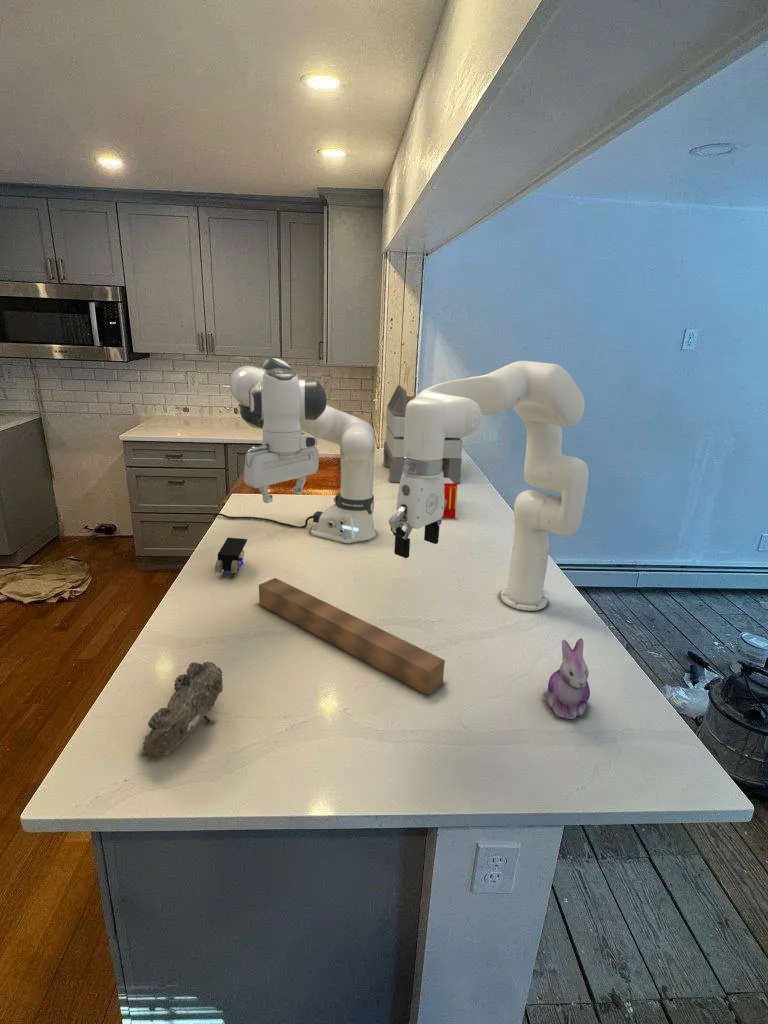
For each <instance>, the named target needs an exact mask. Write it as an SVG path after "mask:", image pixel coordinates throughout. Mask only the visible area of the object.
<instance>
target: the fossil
mask: <svg viewBox="0 0 768 1024" xmlns="http://www.w3.org/2000/svg"><path fill="white" fill-rule="evenodd" d="M173 685H174V686H173V687H174V688H173V689H174V692H173V694H172V696H171V697H170V699H169V701H168V702H167V708H166V707H161V708H159V709H158V710H157V711H156V712H154V713H153V715H152V716H151V717H150V718H149V720H148V722H147V726H148V727H149V728H150V729H151V730H150V731H149V733H148V734H147V735H145V737H144V742H142V749H143V752H144V754H146V755H149V756H150V757H156V756H161V755H162V756H163V755H166V756H167V755H169V754H170V753H171V752H172V751H173V750H174V749H175V748H176V747H177V746H179V745H180V744H181V743H182V741H183V740H184V739H186V738H187V736H189V735H190V734H191V733H192V732H194V730H195V728H196V727H197V725H198V724H199V723H200V722H201V721H202V720H205V721H206V722H207V723H211V722H212V720H211V719H210V718H209V717H208V716H207V715H206V714H207V712H209V711H211V710H212V708H213V707H214V706H215V704H216V702H217V699H218V698H219V695H220V694H221V693H222V692H223V690H224V688H223V687H224V686H223V671H222V669H221V667H219V666H217V664H216V663H214V662H213V661H204V662H202V663H200V662H195V661H193V662H190V664H189V665H188V667H187V668H186V673H183V674H179V675H178V676H177V677H176V678H175V679H174V684H173Z"/></svg>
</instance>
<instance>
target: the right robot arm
mask: <svg viewBox="0 0 768 1024" xmlns="http://www.w3.org/2000/svg"><path fill="white" fill-rule="evenodd" d="M585 402H586V401H585V397H584V395H583V392H582V391H581V389H580V388H579V386H578V384H577V383H576V382H575V380H574V378H572V376H571V375H570V373H569V372H568V371H567V370H566V369H565V368H564V367H563V366H561V365H560V364H558V363H551V362H540V361H533V360H532V361H531V360H517V361H514V362H511V363H508V364H507V365H504V366H502V367H500V368H497V369H496V370H493V371H491V372H489V373H486V374H484V375H475V376H470V377H466V378H459V379H453V380H448V381H443V382H440V383H437V384H434V385H432V386H430V387H428V388H425V389H423V390H422V391H420V392H419V393H418V394H416V396H415V398H414V399H413V400H410V401H409V402H408V403H407V406H406V412H405V430H404V449H403V467H402V473H403V474H402V476H401V480H400V482H399V485H398V492H397V499H396V510H395V512H394V513H393V515H391V516H390V517H389V518H388V524H389V526H390V531H391V532H392V535H393V536H394V549H393V550H394V554H395V555H396V556H398V557H402V558H404V559H408V558H410V551H411V550H410V549H411V548H410V547H411V538H409V536H410V534H411V533H412V530H413V529H415V530H418V529H421V528H423V527H424V534H423V540H424V541H425V542H428V543H431V544H433V545H438V544H439V540H440V539H439V538H440V527H441V526H440V525H441V524H442V522H443V520H442V519H443V518H442V516H443V514H444V509H445V506H446V503H447V500H445V499H444V474H443V471H442V464H443V452H444V439H445V438H446V437H463V438H465V437H468V436H470V435H472V434H473V433H475V432H476V431H477V430H478V429H479V427H480V425H481V424H482V423H481V421H482V417H483V416H491V415H498V414H501V413H504V412H505V411H507V410H509V409H510V408H512V409H513V410H514V412H515V414H516V415H517V416H518V417H519V418H520V419H521V420H522V423H523V425H524V426H525V429H526V430H525V431H526V447H525V454H524V455H525V456H524V465H523V466H524V467H523V478H524V481H525V483H526V484H528V485H529V486H531V487H534V488H537V490H536V489H526V490H523V491H521V492H520V493H519V494H517V496H516V498H515V500H514V503H513V516H514V517H513V518H514V519H513V520H514V532H513V533H514V534H513V542H512V550H511V558H510V565H509V572H508V573H509V574H508V581H507V586H506V587H505V588H503V589H502V590H501V592H500V599H501V601H502V602H503V603H504V604H506V605H507V606H509V607H511V608H513V609H516V610H521V611H528V612H532V611H533V612H534V611H539V610H542V609H544V608H545V607H546V606H547V605H548V597H547V596H546V594H544V586H545V579H546V574H547V573H546V572H547V567H548V559H549V555H550V554H549V553H550V547H551V544H550V543H551V542H550V537H549V534H548V533H551V534H555V535H558V536H561V537H567V538H568V537H569V538H570V537H572V536H575V535H576V534H577V533H578V532H579V530H580V528H581V526H582V524H583V523H582V522H583V518H584V512H585V506H586V499H587V494H588V493H587V492H588V485H589V479H590V477H589V475H590V473H589V467H588V465H587V463H586V462H585V461H584V460H583V459H581V458H578V457H575V456H571V455H566V454H563V452H562V444H563V429H562V427H563V428H566V427H567V428H568V427H569V428H570V427H573V426H575V425H577V424H578V423H579V422H580V421H581V420H582V419H583V416H584V413H585V407H586V403H585ZM538 489H541V490H545V491H549V492H545V491H541V490H538ZM550 492H552V493H550ZM553 493H556V494H560V496H559V495H555V494H553ZM403 527H405V529H403Z"/></svg>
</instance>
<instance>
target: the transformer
mask: <svg viewBox="0 0 768 1024" xmlns="http://www.w3.org/2000/svg"><path fill="white" fill-rule="evenodd" d="M407 394H408V393H407V390H406V389H404V388H403V387H402V385H399V384H398V385H397V386H396V388H395V390H394V392H393V394H392V395H391V398H390V400H389V402H388V404H387V405H386V413H385V414H386V415H385V423H386V428H385V438H384V442H383V466H384V467H388V468H389V475H388V476H389V477H388V478H389V480H390V482H391V483H400V480H401V476H402V474H403V473H402V467H403V449H404V430H405V412H406V406H407V403H408V402H409V401H410V400H413V399H414V398H415V397H416V396H415V395H414V396H413V395H412V396H411V395H407ZM463 438H464V437H446V438H445V439H444V452H443V464H442V471H443V475H444V478H449V479H450V480H451V481H452V482H453V483H454V484H459V483H461V472H462V461H463V460H462V453H463V442H464V441H463V440H462V439H463Z"/></svg>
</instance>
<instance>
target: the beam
mask: <svg viewBox="0 0 768 1024" xmlns="http://www.w3.org/2000/svg"><path fill="white" fill-rule="evenodd" d="M258 602H259V603H258V604H259V605H260V606H262V607H264V608H266V609H267V610H269V611H270V612H272V613H274V614H277V615H278V616H280V617H282V618H284V619H285V620H288V621H289V622H291V623H293V624H294V625H297V626H299V627H300V628H302V629H303V630H306V631H308V632H309V633H312V634H313V635H315V636H317V637H319V638H320V639H322V640H324V641H327V642H328V643H330V644H331V645H334V646H336V647H337V648H339V649H341V650H343V651H345V652H347V653H348V654H350V655H352V656H354V657H356V658H358V659H359V660H361V661H363V662H365V663H366V664H368V665H371V666H372V667H374V668H376V669H377V670H380V671H381V672H383V673H386V674H387V675H389V676H391V677H393V678H395V679H396V680H397V681H400V682H402V683H404V684H406V685H408V686H410V687H411V688H413V689H415V690H416V691H417V690H418V691H419V692H420V693H422V694H424V695H426V696H429V695H430V694H431V693H432V692H434V691H435V690H436V689H437V688H439V687H440V686H441V685H442V684H443V683H444V673H445V662H446V660H445V659H443V658H441V657H440V656H437V655H435V654H433V653H432V652H429V651H427V650H425V649H423V648H421V647H419V646H416V645H415V644H413V643H410V642H408V641H406V640H405V639H402V638H400V637H399V636H396V635H394V634H392V633H390V632H388V631H385V630H384V629H382V628H379V627H377V626H375V625H373V624H371V623H369V622H367V621H365V620H364V619H361V618H359V617H357V616H355V615H353V614H351V613H349V612H347V611H344V610H342V609H340V608H338V607H336V606H334V605H332V604H330V603H328V602H326V601H324V600H322V599H320V598H318V597H315V596H314V595H312V594H310V593H308V592H305V591H304V590H301V589H299V588H298V587H295V586H293V585H291V584H289V583H287V582H285V581H283V580H280V579H278V578H277V577H273V578H272V579H269V580H267V581H265V582H262V583H259V584H258Z"/></svg>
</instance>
